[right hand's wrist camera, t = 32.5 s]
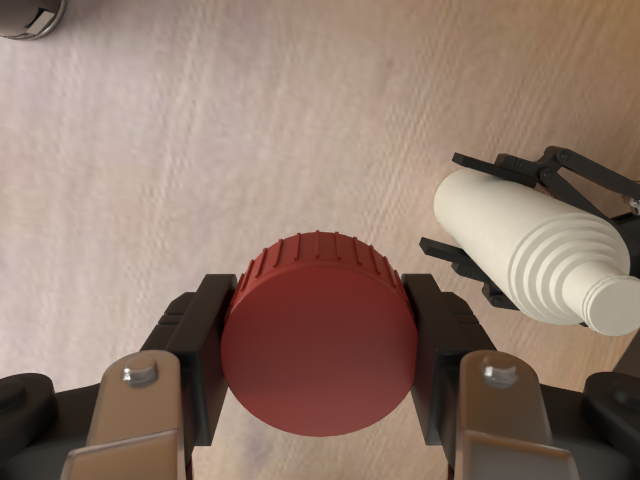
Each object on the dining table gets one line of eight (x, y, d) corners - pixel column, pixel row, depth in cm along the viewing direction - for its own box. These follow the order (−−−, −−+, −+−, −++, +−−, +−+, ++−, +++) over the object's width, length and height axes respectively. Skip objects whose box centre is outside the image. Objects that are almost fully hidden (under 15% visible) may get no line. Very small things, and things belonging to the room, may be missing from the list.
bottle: (471, 151, 44) (637, 208, 21) (519, 200, 45) (726, 304, 22) (418, 205, 45) (517, 313, 22) (466, 250, 47) (607, 396, 24)
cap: (212, 349, 12) (191, 404, 10) (269, 201, 11) (257, 231, 9) (362, 399, 13) (370, 461, 11) (435, 266, 11) (461, 308, 9)
